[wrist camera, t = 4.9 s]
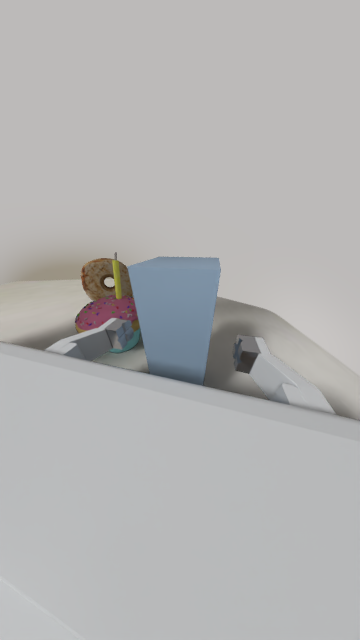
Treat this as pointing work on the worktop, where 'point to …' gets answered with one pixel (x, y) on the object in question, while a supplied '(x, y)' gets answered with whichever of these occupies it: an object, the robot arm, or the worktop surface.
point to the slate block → (176, 313)
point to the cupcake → (110, 311)
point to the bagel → (96, 275)
